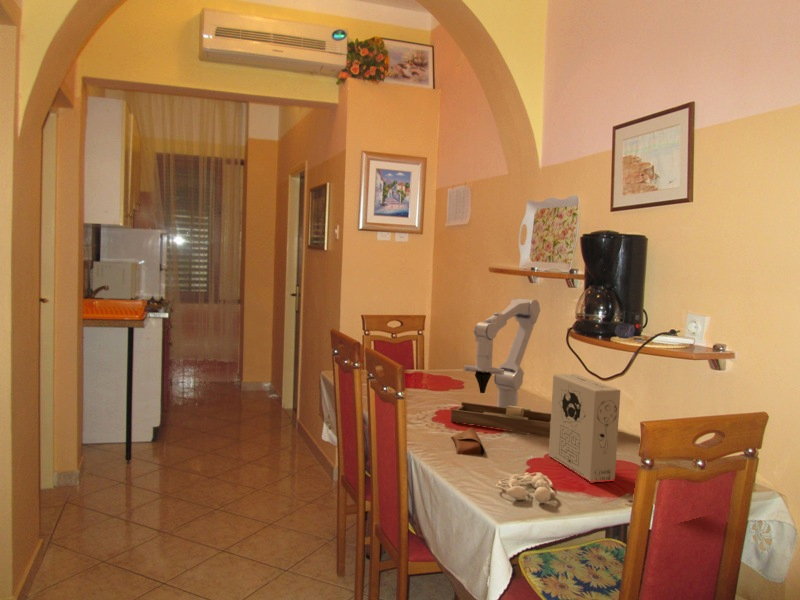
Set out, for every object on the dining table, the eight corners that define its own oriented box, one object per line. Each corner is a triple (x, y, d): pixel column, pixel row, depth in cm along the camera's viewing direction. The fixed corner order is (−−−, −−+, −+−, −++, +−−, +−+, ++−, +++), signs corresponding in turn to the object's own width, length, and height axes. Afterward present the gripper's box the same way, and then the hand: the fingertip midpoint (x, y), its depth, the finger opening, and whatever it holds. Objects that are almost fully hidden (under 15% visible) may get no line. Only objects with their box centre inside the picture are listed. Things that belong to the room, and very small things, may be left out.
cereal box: (615, 482, 164) (621, 389, 162) (590, 484, 162) (596, 390, 160) (570, 455, 185) (575, 373, 183) (548, 457, 183) (552, 374, 181)
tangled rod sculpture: (503, 478, 168) (502, 463, 168) (557, 480, 164) (557, 465, 164) (493, 503, 150) (492, 486, 149) (554, 507, 145) (553, 489, 145)
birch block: (508, 416, 217) (509, 405, 217) (523, 418, 215) (523, 407, 215) (505, 420, 212) (506, 408, 212) (520, 422, 210) (520, 410, 210)
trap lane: (462, 413, 228) (462, 400, 228) (555, 426, 215) (556, 412, 215) (450, 422, 216) (451, 408, 216) (548, 436, 203) (549, 421, 203)
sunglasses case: (449, 436, 200) (460, 419, 199) (467, 447, 200) (478, 430, 200) (456, 454, 182) (468, 435, 181) (476, 466, 182) (488, 448, 182)
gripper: (461, 355, 221) (460, 392, 222) (501, 359, 215) (499, 397, 216) (467, 352, 227) (465, 388, 228) (506, 356, 221) (504, 393, 223)
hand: (482, 392), depth 223 cm, fingers closed
